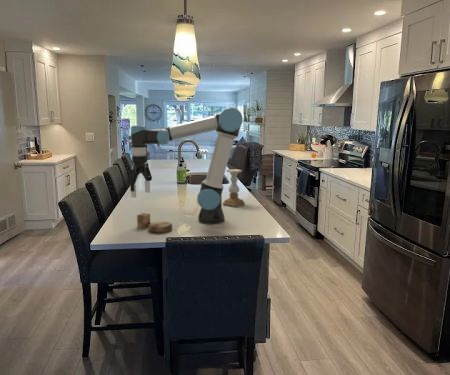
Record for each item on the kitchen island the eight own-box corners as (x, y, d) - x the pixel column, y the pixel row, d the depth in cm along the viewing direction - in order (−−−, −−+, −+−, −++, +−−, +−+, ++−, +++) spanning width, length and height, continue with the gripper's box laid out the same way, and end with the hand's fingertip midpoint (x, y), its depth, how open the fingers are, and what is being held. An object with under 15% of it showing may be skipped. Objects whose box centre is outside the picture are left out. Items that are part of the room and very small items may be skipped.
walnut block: (150, 226, 201) (150, 213, 200) (145, 228, 197) (145, 216, 195) (142, 225, 203) (141, 213, 202) (137, 227, 198) (137, 215, 197)
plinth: (175, 227, 198) (175, 222, 198) (165, 234, 187) (165, 228, 186) (155, 225, 202) (155, 220, 201) (144, 232, 191) (144, 226, 190)
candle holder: (231, 202, 258) (231, 168, 254) (244, 204, 252) (245, 169, 248) (222, 205, 250) (222, 170, 245) (236, 207, 243) (236, 171, 239)
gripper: (145, 152, 207) (147, 190, 211) (118, 157, 184) (121, 199, 188) (157, 153, 205) (158, 190, 208) (131, 157, 181) (133, 200, 185)
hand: (140, 194), depth 198 cm, fingers open, 13 cm apart
